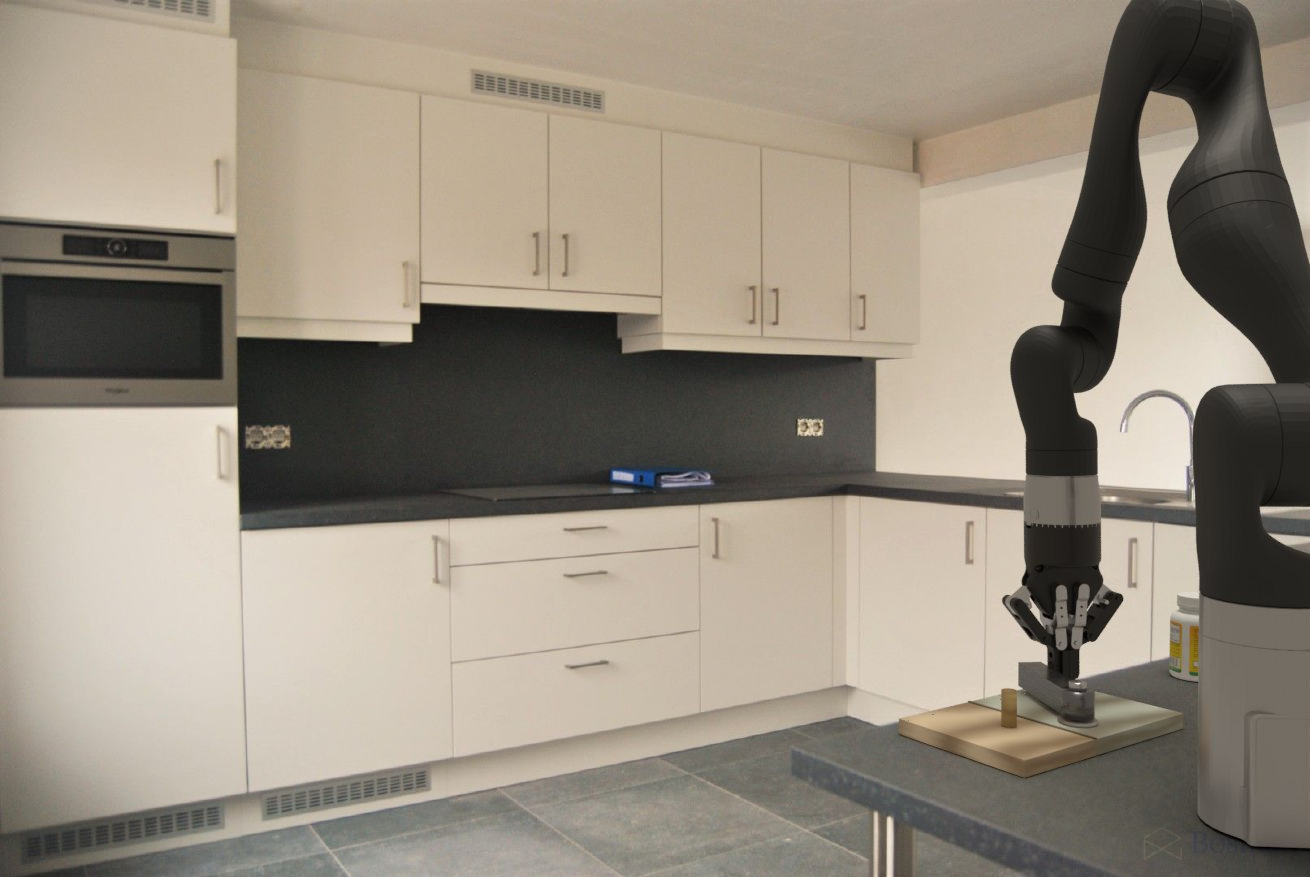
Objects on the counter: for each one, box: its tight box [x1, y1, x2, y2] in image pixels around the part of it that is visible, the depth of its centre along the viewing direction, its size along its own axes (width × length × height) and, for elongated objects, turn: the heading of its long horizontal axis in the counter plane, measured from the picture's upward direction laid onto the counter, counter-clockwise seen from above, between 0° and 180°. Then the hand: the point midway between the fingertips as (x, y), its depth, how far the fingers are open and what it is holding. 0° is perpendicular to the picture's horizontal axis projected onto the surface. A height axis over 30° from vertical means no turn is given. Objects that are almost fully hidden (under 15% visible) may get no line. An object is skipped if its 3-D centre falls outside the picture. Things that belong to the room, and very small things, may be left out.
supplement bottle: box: [1168, 591, 1200, 683], centre depth 121 cm, size 5×5×10 cm
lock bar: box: [1017, 661, 1096, 721], centre depth 105 cm, size 12×3×3 cm, turn 4°
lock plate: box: [898, 687, 1184, 779], centre depth 102 cm, size 14×24×5 cm, turn 123°
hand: (1063, 682), depth 110 cm, fingers closed
